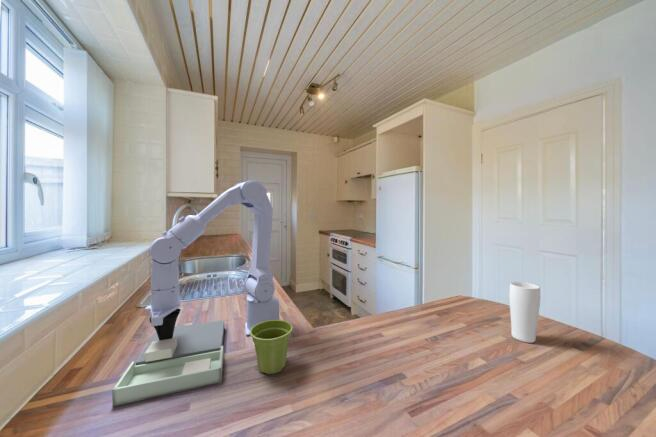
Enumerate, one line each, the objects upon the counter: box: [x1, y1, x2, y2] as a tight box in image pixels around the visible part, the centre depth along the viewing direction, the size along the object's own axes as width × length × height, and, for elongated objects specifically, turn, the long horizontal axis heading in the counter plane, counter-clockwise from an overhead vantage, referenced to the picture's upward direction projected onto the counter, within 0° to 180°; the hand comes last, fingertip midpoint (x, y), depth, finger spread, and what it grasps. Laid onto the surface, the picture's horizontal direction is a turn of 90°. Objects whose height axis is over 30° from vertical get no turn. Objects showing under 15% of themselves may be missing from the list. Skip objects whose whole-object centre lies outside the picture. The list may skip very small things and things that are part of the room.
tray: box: [111, 345, 224, 407], centre depth 52 cm, size 18×9×3 cm, turn 110°
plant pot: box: [249, 319, 293, 375], centre depth 56 cm, size 9×9×9 cm
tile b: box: [145, 338, 177, 362], centre depth 57 cm, size 5×5×2 cm
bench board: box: [135, 319, 225, 366], centre depth 64 cm, size 17×16×2 cm
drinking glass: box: [508, 281, 541, 344], centre depth 68 cm, size 7×7×15 cm
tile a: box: [181, 358, 211, 375], centre depth 52 cm, size 5×5×2 cm
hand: (166, 342), depth 60 cm, fingers closed
